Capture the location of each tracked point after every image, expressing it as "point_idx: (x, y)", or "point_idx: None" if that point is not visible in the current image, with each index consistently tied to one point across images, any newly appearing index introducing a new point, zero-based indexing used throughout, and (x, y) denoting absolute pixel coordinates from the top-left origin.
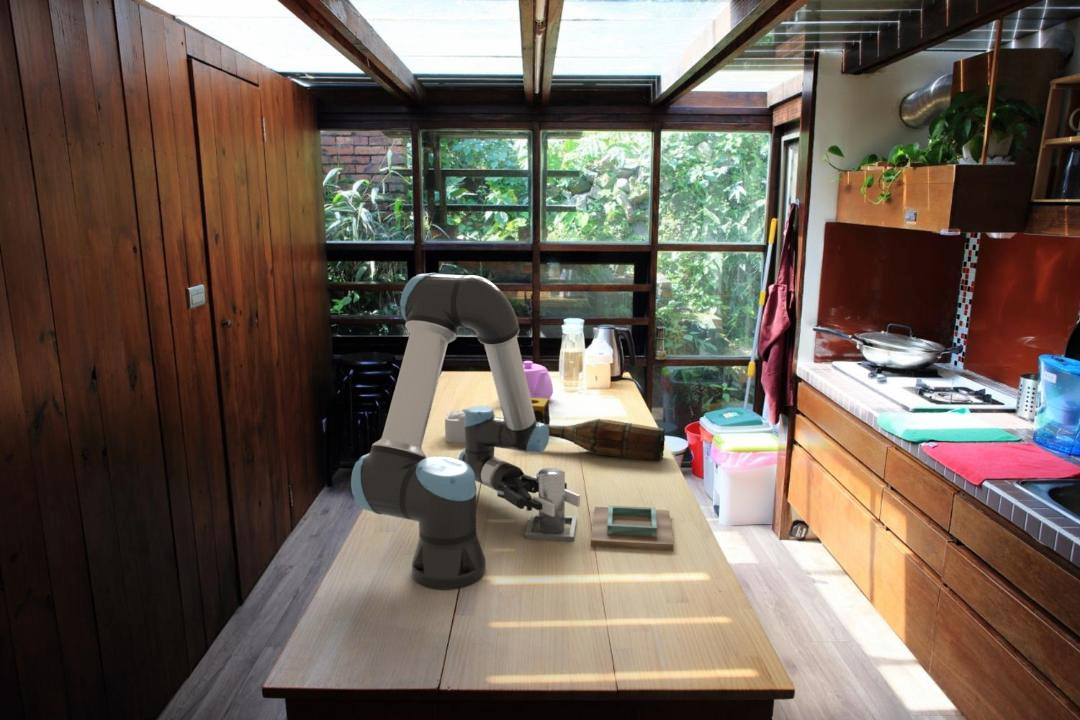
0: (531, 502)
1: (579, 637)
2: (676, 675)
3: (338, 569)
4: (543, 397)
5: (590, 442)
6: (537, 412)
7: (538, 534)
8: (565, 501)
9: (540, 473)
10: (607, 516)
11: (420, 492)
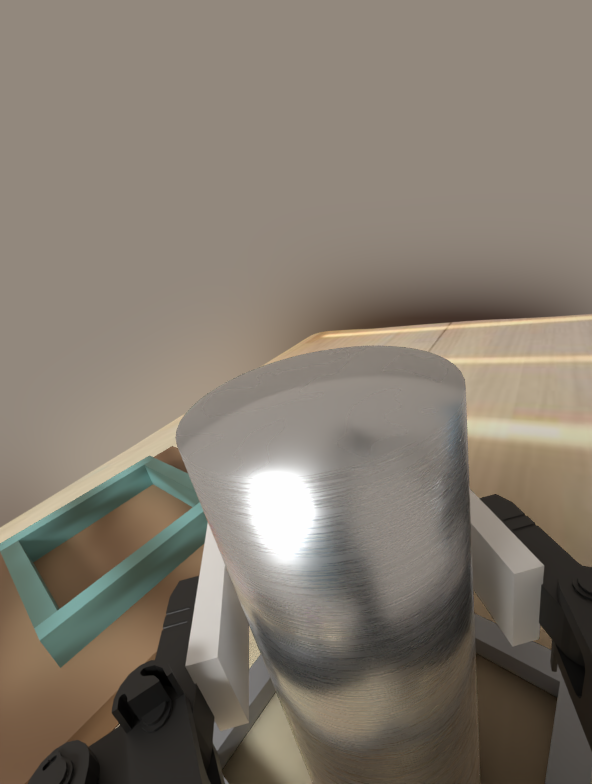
0: (559, 552)
1: (470, 348)
2: (388, 331)
3: None
4: None
5: None
6: None
7: (499, 634)
8: (248, 629)
9: (443, 383)
10: (100, 636)
11: None
